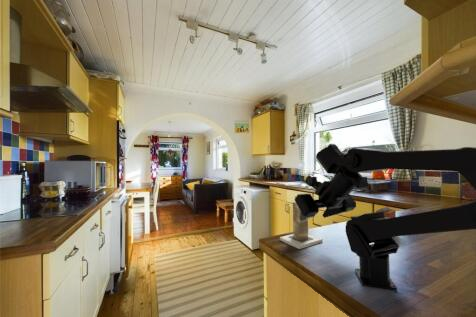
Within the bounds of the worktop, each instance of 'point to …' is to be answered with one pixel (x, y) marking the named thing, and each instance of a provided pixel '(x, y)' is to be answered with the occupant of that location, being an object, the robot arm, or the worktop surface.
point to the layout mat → (301, 241)
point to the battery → (387, 212)
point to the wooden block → (299, 224)
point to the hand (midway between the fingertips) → (312, 218)
